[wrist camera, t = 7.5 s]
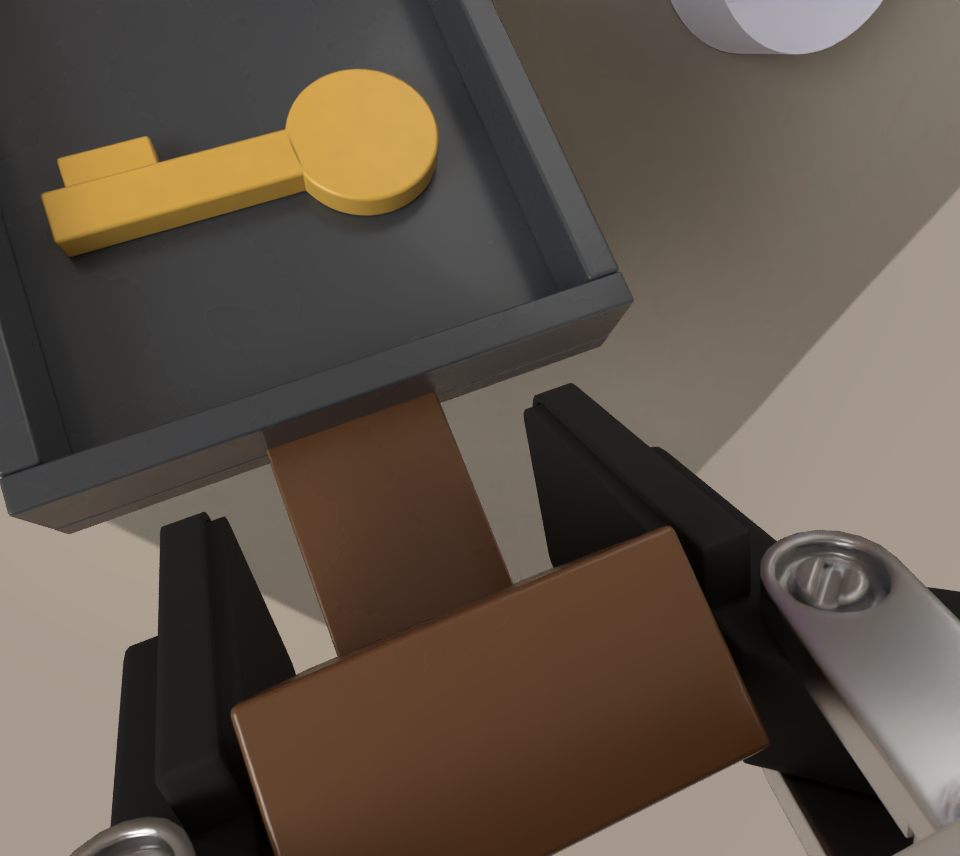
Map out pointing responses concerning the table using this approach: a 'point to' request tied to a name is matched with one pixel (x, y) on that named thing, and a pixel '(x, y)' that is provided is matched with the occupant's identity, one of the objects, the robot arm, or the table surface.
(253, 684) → the robot arm
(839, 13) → the wedge on round base
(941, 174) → the table surface
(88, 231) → the key
